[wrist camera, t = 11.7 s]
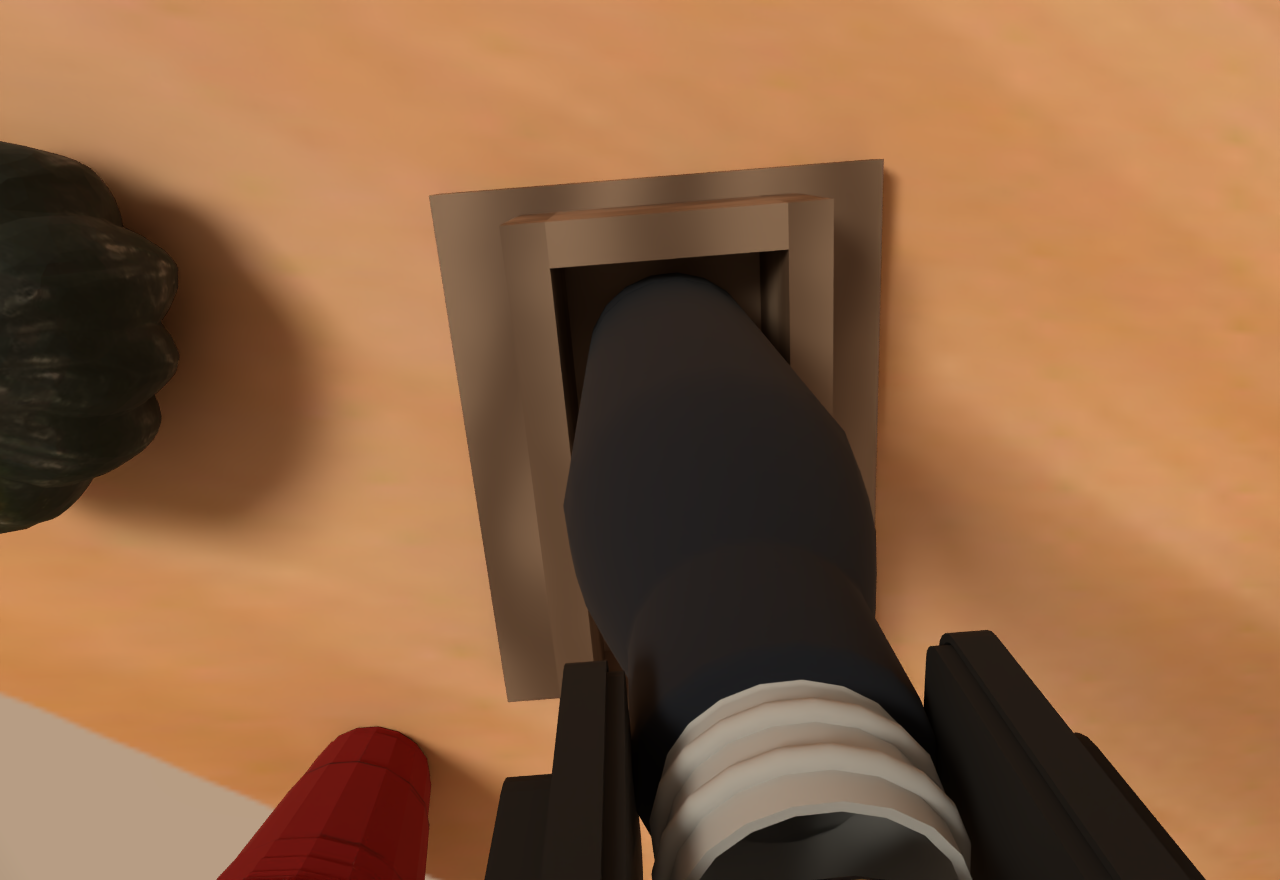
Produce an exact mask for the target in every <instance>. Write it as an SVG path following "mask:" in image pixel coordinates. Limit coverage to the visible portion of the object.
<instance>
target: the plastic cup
mask: <svg viewBox="0 0 1280 880" xmlns="http://www.w3.org/2000/svg"><path fill="white" fill-rule="evenodd" d="M430 790H431V782H430V773H429V768H428V762H427V758H426V757H425V755H424V754H423V752H422V751H421V750H420V748H419V747H418V745H417V744H416V743H415V742H413V741H412V740H410V739H409V738H407V737H405V736H404V735H402V734H401V733H399V732H396V731H393V730H389V729H385V728H381V727H366V728H356V729H354V730H351V731H349V732H347V733H344V734H342V735H340V736H338V737H337V738H336V739H335V741H333V742H331V743H330V744H329V745H328V747H327V748H326V749H325V750H324V751H323V752H322V753H321V754H320V755H319V756H318V758H317V759H316V760H315V761H314V763H313V764H312V765H311V767H310V768H309V769H308V771H307V772H306V773H305V774H304V775H303V777H302V778H301V779H300V780H299V781H298V782H297V783H296V784H295V785H294V786H293V787H292V789H291V790H290V791H289V792H288V793H287V794H286V796H285V797H284V798H283V799H282V801H281V802H280V803H279V805H278V806H277V807H276V808H275V810H274V811H273V812H272V813H271V815H270V816H269V817H268V819H267V820H266V821H265V822H264V823H263V825H262V826H261V827H260V829H259V830H258V831H257V832H256V834H255V835H254V836H253V837H252V839H251V840H250V841H249V843H248V844H247V845H246V846H245V847H244V849H243V850H242V851H241V853H240V854H239V855H238V857H237V858H236V859H235V860H234V861H233V862H232V863H231V865H229V867H228V868H227V869H226V870H225V871H224V872H223V873H222V874H221V875H220V876H219V877H218V878H217V880H425V870H426V858H427V846H428V835H429V821H428V812H429V801H430Z"/></svg>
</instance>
